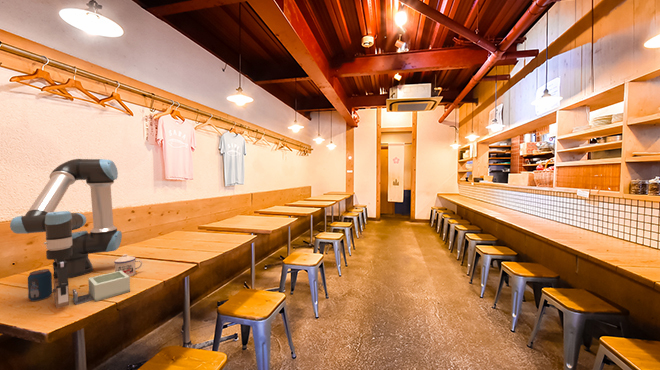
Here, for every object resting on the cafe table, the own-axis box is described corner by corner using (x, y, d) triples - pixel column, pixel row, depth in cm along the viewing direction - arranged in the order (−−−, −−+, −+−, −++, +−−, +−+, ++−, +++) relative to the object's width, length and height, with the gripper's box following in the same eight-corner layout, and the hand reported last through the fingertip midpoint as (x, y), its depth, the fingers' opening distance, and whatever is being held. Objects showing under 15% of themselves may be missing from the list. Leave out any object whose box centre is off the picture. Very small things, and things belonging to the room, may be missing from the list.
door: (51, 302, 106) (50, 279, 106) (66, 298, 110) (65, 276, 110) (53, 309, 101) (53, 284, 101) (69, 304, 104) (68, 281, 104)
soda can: (51, 293, 116) (51, 267, 116) (52, 297, 111) (51, 270, 111) (28, 298, 110) (27, 271, 110) (28, 303, 106) (27, 275, 106)
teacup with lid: (114, 280, 130) (113, 258, 130) (114, 275, 137) (114, 254, 137) (143, 274, 138) (142, 253, 138) (142, 270, 145) (141, 250, 145)
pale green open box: (88, 293, 115) (88, 278, 115) (121, 284, 125) (121, 270, 125) (95, 301, 107) (94, 285, 107) (130, 291, 116) (129, 276, 116)
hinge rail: (72, 299, 109) (71, 288, 109) (90, 294, 113) (89, 284, 113) (75, 305, 104) (74, 293, 104) (93, 299, 109) (93, 288, 108)
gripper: (43, 245, 110) (45, 293, 110) (49, 255, 95) (51, 310, 95) (68, 242, 116) (69, 287, 116) (77, 250, 101) (78, 302, 101)
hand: (61, 297), depth 106 cm, fingers open, 13 cm apart
